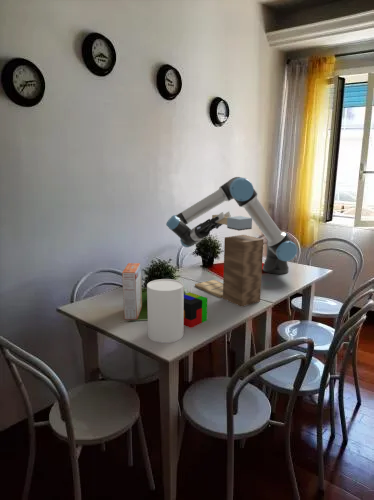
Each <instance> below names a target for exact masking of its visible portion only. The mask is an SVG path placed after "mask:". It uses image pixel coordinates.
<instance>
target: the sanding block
mask: <svg viewBox="0 0 374 500" xmlns="http://www.w3.org/2000/svg"><path fill="white" fill-rule="evenodd" d="M217 215H218V214H212V216H211V219H212V218H214V217H216V216H217ZM224 217H225V218H223V219H222V220H220V221H219V222H217V223H220V224H223V225H224V226H225V225H226V228H227V229H229V230H234V231H238V232H239V231H246V230H252V229H253V219H252V218H251V217H250V216H242V215H236V216H231V217H228V216H224ZM215 223H216V222H215Z"/></svg>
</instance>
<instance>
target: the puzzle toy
mask: <svg viewBox="0 0 374 500" xmlns="http://www.w3.org/2000/svg"><path fill="white" fill-rule="evenodd" d="M207 321H208V297H205V296H202V295H199V294H196V293H194V292H186V293H184V326H185V327H187V328H189V329H193V328H194V327H197V326H198V325H201V324H203V323H205V322H207Z"/></svg>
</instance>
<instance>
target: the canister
mask: <svg viewBox="0 0 374 500" xmlns="http://www.w3.org/2000/svg"><path fill="white" fill-rule="evenodd" d="M184 287H185V284H184V283H183V281H180V280H178V279H173V278H172V279H171V278H161V279H154V280H151V281H149V282H148V283H147V284H146V296H147V297H146V300H147V302H146V303H147V336H148V339H150V340H151V341H153V342H156V343H163V344H164V343H166V344H167V343H174V342H178V341H180V340H181V339H182V338H183V337H184V329H185V328H184V294H185V293H184V291H185V288H184Z"/></svg>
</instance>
